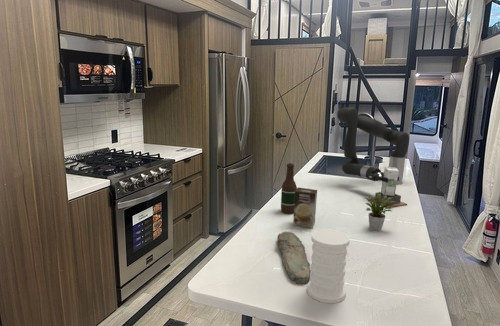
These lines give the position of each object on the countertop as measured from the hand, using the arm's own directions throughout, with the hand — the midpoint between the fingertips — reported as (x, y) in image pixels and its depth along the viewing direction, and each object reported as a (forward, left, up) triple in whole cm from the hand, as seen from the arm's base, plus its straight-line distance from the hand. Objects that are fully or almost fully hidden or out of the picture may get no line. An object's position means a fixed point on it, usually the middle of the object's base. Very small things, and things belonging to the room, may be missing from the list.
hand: (393, 179), depth 186 cm
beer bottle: (-10, -57, -14) cm, 59 cm away
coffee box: (+7, -59, -14) cm, 61 cm away
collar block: (-2, 0, -14) cm, 14 cm away
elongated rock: (+31, -80, -14) cm, 87 cm away
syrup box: (-2, 0, -9) cm, 9 cm away
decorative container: (+54, -82, -14) cm, 99 cm away
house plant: (+23, -33, -14) cm, 42 cm away
